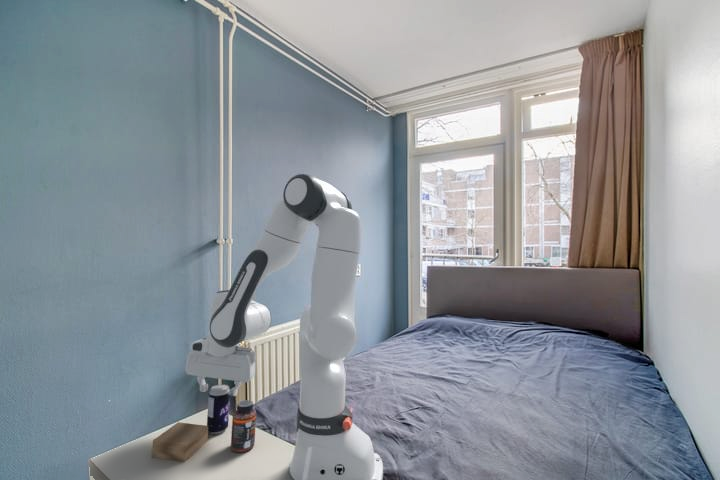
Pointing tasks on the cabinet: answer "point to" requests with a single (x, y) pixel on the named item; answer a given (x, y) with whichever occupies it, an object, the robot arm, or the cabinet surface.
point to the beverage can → (218, 408)
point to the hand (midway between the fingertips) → (218, 393)
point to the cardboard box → (180, 441)
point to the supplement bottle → (243, 427)
